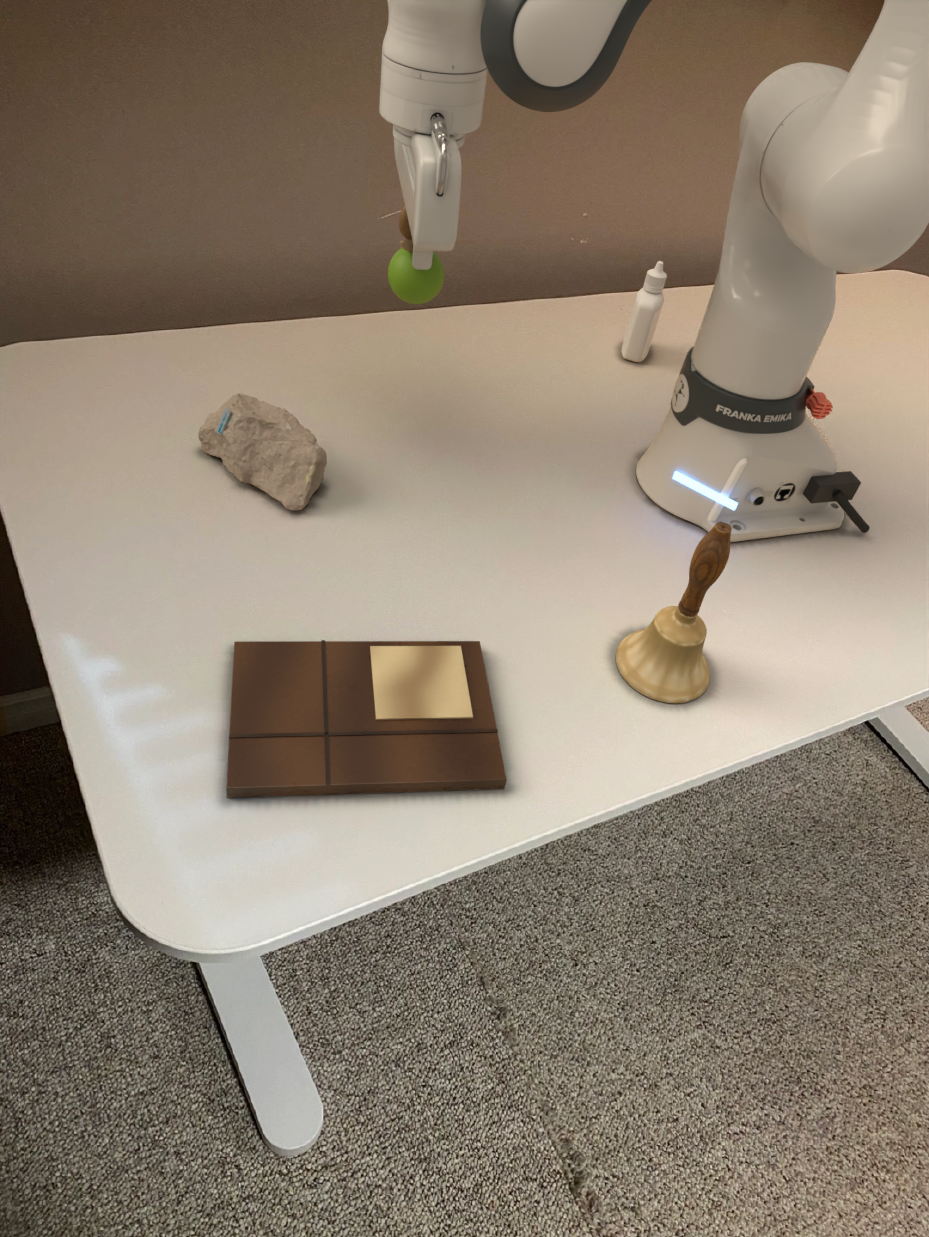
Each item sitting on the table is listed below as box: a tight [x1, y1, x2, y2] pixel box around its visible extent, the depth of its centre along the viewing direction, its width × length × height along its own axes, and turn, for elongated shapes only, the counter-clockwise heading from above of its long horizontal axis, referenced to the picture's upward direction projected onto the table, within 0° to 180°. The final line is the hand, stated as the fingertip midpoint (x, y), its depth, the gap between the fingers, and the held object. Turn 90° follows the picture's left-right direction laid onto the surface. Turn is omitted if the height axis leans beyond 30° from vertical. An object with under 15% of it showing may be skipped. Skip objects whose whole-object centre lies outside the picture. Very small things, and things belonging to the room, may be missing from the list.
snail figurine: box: [387, 195, 445, 305], centre depth 87 cm, size 5×6×12 cm
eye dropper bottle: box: [620, 260, 668, 363], centre depth 116 cm, size 4×6×12 cm
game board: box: [225, 639, 507, 799], centre depth 72 cm, size 20×14×1 cm
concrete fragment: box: [197, 392, 328, 512], centre depth 90 cm, size 7×14×6 cm, turn 48°
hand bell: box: [615, 522, 732, 705], centre depth 75 cm, size 8×8×16 cm
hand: (418, 256), depth 88 cm, fingers closed on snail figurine, 3 cm apart
